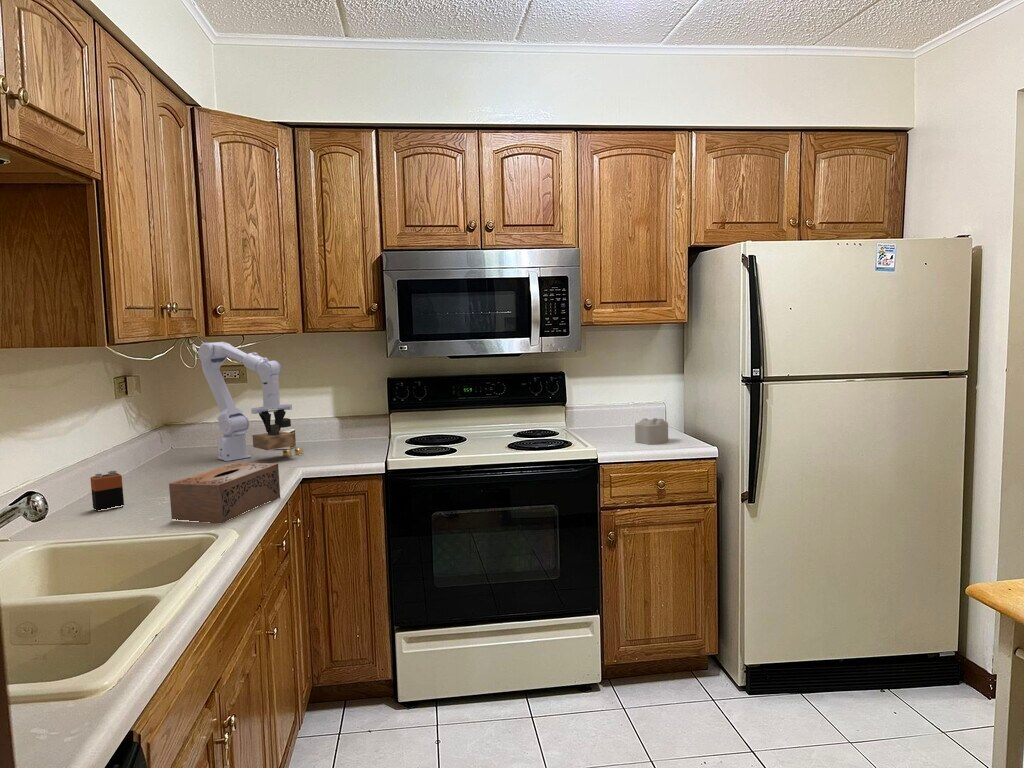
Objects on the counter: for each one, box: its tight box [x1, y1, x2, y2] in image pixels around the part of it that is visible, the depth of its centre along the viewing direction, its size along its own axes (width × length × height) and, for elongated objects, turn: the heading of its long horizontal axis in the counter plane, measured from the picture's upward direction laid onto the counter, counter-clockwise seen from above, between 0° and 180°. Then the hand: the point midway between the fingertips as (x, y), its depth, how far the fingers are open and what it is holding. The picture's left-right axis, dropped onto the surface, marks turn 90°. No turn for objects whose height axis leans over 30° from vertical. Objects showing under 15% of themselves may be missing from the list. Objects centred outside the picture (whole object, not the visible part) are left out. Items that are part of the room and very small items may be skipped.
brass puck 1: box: [281, 449, 293, 458], centre depth 260 cm, size 3×3×2 cm
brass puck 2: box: [293, 447, 304, 456], centre depth 263 cm, size 3×3×2 cm
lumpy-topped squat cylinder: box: [634, 417, 669, 446], centre depth 265 cm, size 10×13×9 cm
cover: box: [251, 423, 297, 451], centre depth 254 cm, size 11×11×8 cm
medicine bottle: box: [278, 417, 297, 450], centre depth 278 cm, size 7×7×12 cm
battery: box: [89, 470, 125, 511], centre depth 191 cm, size 4×7×10 cm, turn 133°
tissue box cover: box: [168, 462, 281, 524], centre depth 186 cm, size 26×14×10 cm, turn 166°
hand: (273, 431), depth 254 cm, fingers closed on cover, 3 cm apart
